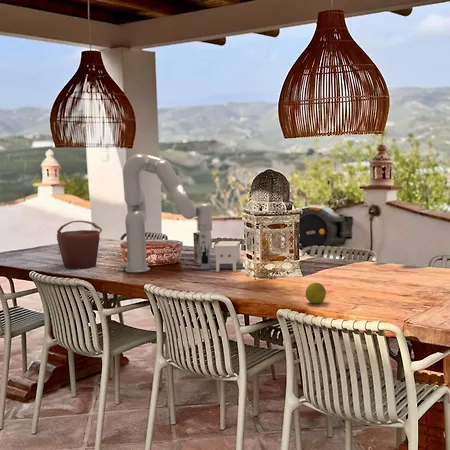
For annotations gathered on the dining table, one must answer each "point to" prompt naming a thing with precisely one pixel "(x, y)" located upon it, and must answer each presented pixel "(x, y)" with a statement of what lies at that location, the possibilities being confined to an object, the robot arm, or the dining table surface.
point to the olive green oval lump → (315, 293)
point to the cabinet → (227, 253)
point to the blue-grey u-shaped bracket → (213, 266)
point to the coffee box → (197, 248)
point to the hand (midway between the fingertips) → (205, 262)
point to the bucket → (79, 247)
